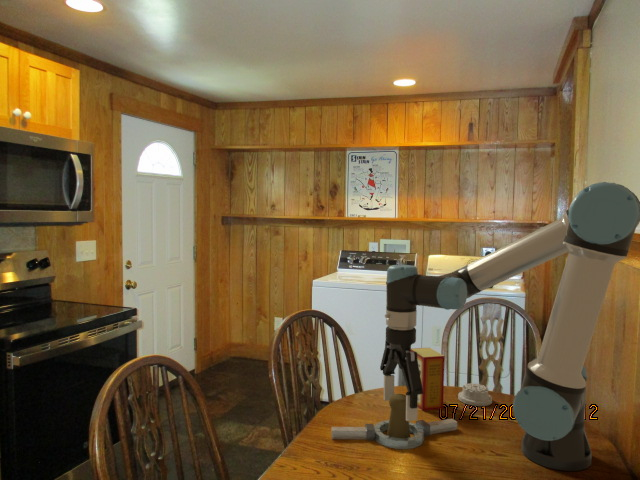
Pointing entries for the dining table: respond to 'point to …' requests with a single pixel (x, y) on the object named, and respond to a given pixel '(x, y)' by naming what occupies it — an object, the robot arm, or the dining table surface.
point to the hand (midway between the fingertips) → (399, 409)
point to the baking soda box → (430, 378)
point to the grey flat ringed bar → (375, 434)
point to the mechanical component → (475, 395)
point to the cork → (398, 417)
